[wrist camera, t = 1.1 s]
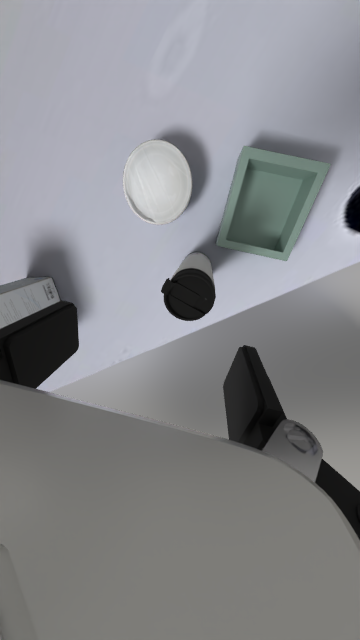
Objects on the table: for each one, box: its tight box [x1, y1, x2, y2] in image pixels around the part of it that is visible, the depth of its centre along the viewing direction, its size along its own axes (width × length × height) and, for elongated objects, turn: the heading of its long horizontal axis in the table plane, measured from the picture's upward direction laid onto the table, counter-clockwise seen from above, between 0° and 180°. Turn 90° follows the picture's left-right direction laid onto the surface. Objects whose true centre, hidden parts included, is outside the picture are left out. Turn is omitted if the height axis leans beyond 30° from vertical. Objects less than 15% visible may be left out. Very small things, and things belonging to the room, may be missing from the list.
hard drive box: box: [0, 277, 60, 329], centre depth 39 cm, size 16×8×20 cm, turn 4°
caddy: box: [216, 146, 331, 261], centre depth 31 cm, size 13×12×5 cm
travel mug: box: [161, 252, 216, 321], centre depth 30 cm, size 6×7×20 cm
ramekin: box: [123, 140, 192, 225], centre depth 31 cm, size 11×11×5 cm
